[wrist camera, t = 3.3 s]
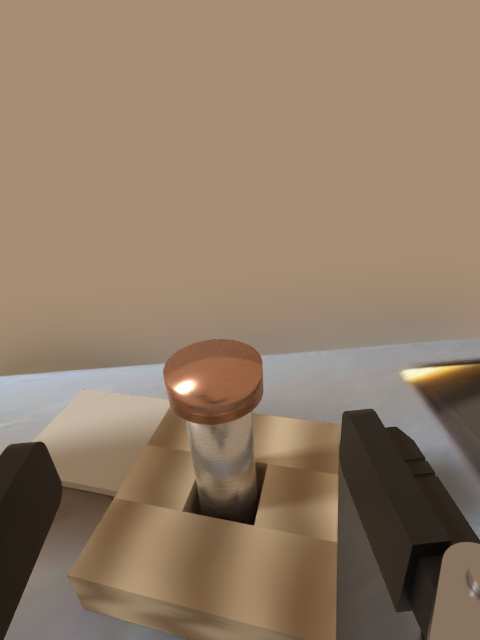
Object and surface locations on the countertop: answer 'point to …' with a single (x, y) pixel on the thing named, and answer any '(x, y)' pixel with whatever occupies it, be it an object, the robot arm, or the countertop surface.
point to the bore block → (221, 542)
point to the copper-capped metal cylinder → (219, 422)
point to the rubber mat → (101, 438)
